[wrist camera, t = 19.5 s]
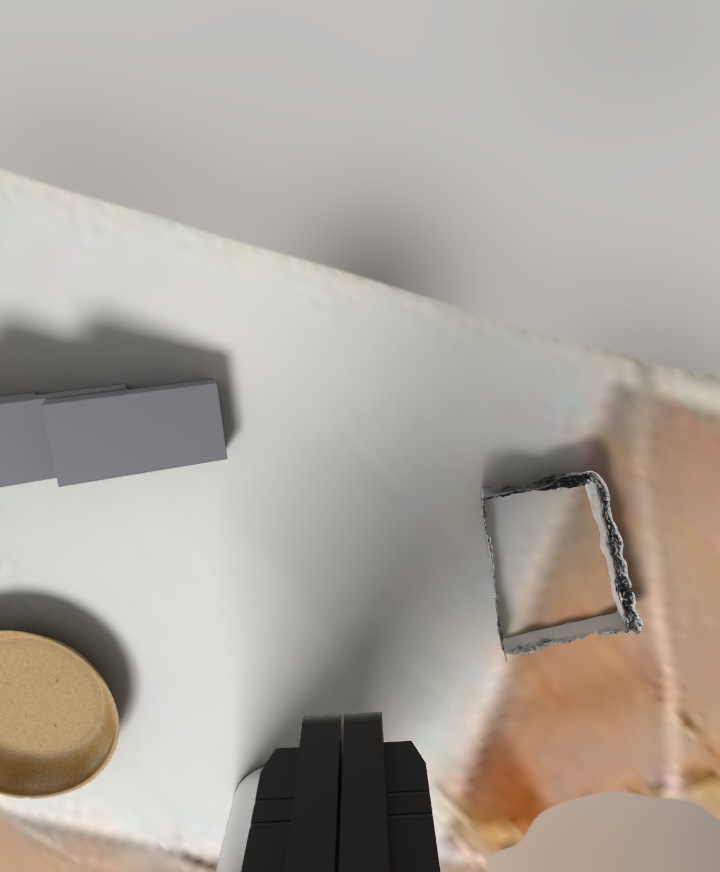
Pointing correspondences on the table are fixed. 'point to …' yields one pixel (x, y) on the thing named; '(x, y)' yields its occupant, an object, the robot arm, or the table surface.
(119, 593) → the table surface
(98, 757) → the plant saucer
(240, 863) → the robot arm
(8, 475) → the domino
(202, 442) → the domino
